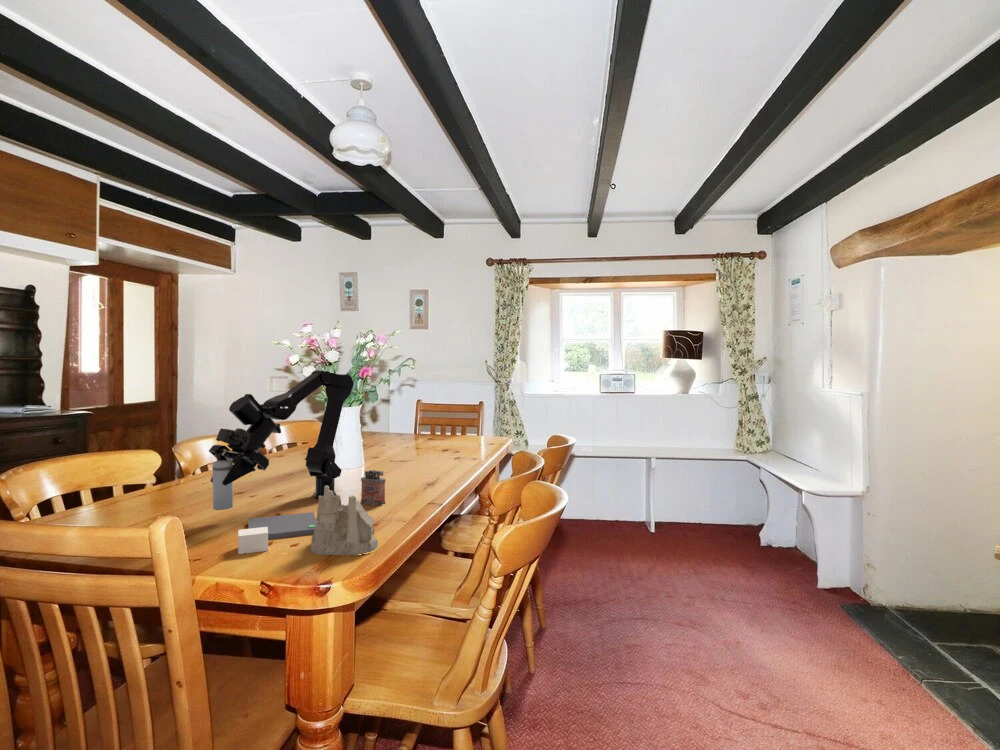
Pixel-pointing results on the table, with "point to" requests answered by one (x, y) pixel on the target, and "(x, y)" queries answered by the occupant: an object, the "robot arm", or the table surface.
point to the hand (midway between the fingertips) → (217, 483)
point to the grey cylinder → (220, 491)
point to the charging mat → (274, 530)
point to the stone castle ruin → (342, 527)
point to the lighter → (373, 488)
